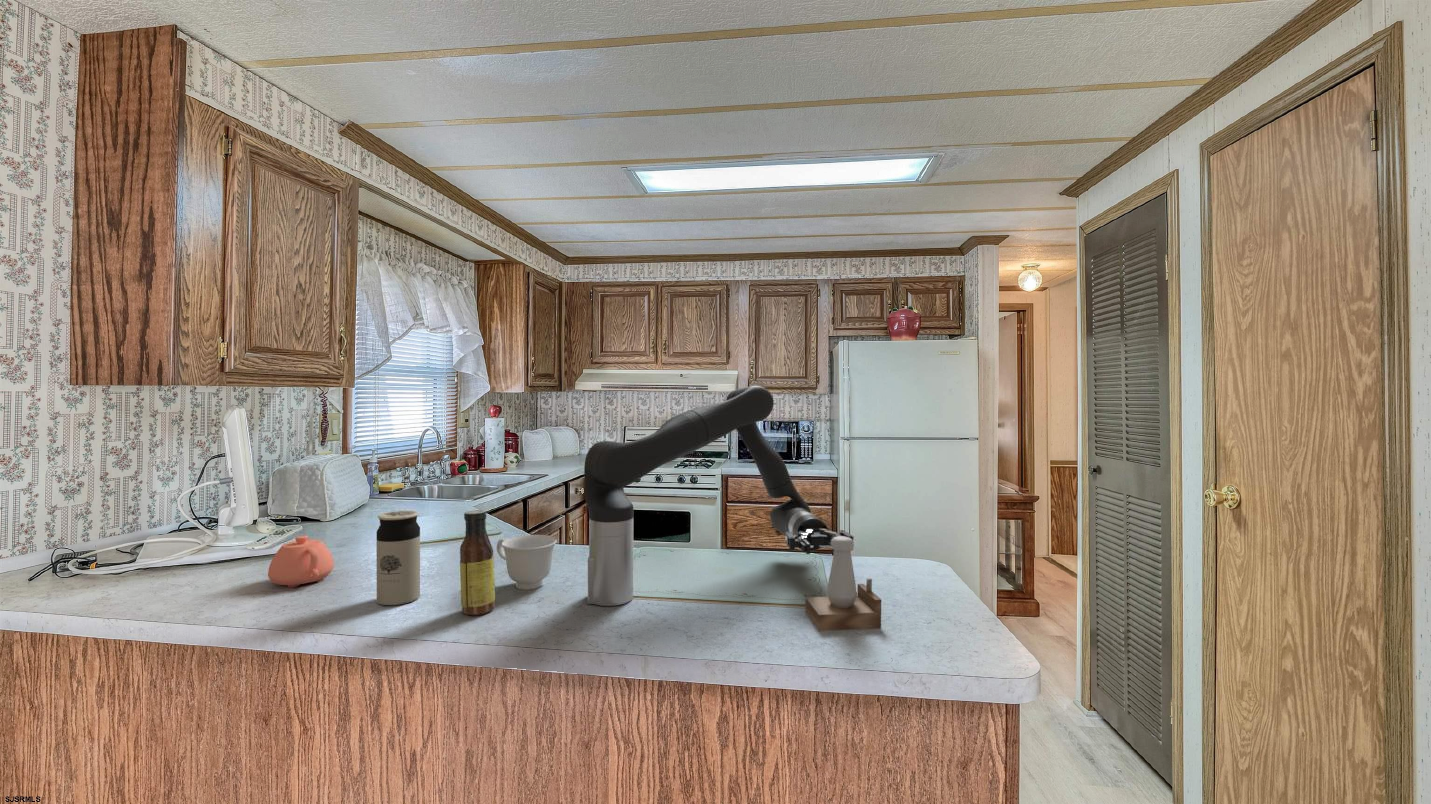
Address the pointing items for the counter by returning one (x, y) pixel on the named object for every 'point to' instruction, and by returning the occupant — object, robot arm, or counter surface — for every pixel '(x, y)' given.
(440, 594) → the counter surface
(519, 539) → the teacup
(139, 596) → the counter surface
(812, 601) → the wooden stand
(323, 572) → the sugar bowl
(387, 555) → the travel mug
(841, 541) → the salt shaker
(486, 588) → the sauce bottle
